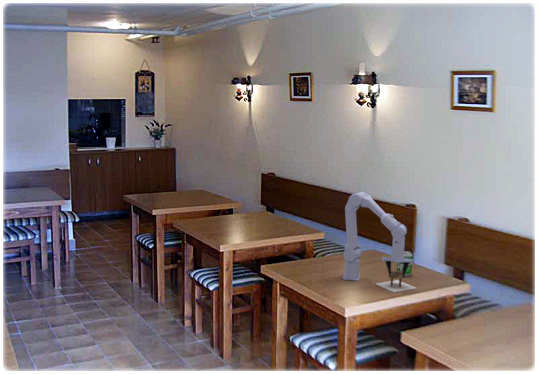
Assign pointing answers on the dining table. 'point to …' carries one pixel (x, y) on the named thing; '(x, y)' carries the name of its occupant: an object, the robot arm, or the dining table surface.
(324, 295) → the dining table surface
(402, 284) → the mat
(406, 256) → the soda can
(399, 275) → the stool
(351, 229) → the robot arm
